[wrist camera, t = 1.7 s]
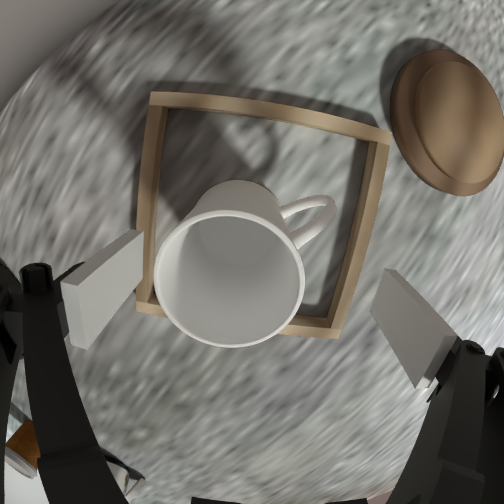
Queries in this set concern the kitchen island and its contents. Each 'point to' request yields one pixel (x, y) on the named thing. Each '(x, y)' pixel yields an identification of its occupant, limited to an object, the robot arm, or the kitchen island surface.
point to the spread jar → (124, 478)
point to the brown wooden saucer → (448, 122)
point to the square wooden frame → (277, 112)
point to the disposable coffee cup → (23, 450)
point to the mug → (236, 264)
